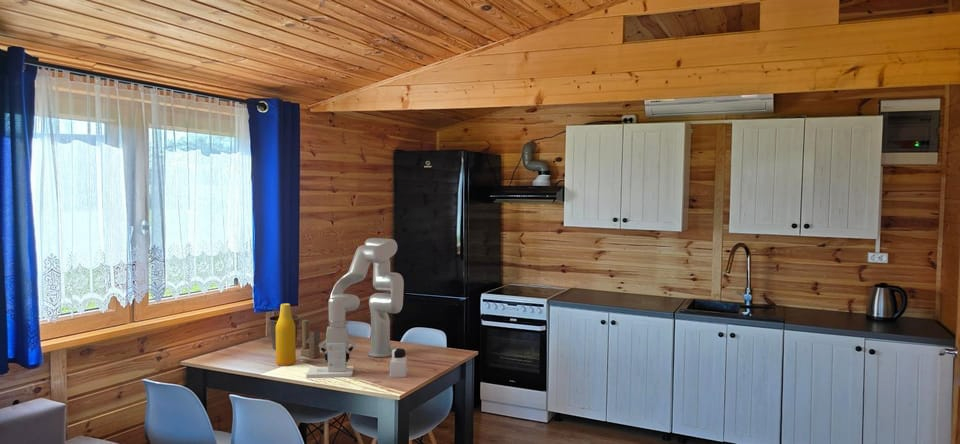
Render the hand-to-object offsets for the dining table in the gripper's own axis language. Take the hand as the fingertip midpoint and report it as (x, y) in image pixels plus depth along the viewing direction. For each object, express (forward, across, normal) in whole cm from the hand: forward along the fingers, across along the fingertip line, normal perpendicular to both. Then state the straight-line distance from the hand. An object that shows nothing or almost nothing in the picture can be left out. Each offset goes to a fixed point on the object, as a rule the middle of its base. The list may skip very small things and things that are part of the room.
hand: (337, 361), depth 298 cm
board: (+6, +3, 0) cm, 6 cm away
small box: (+4, 0, 0) cm, 4 cm away
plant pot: (+6, +32, -51) cm, 61 cm away
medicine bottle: (+6, -28, +6) cm, 29 cm away
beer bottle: (+6, +26, -19) cm, 33 cm away
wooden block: (+6, +16, -31) cm, 35 cm away
